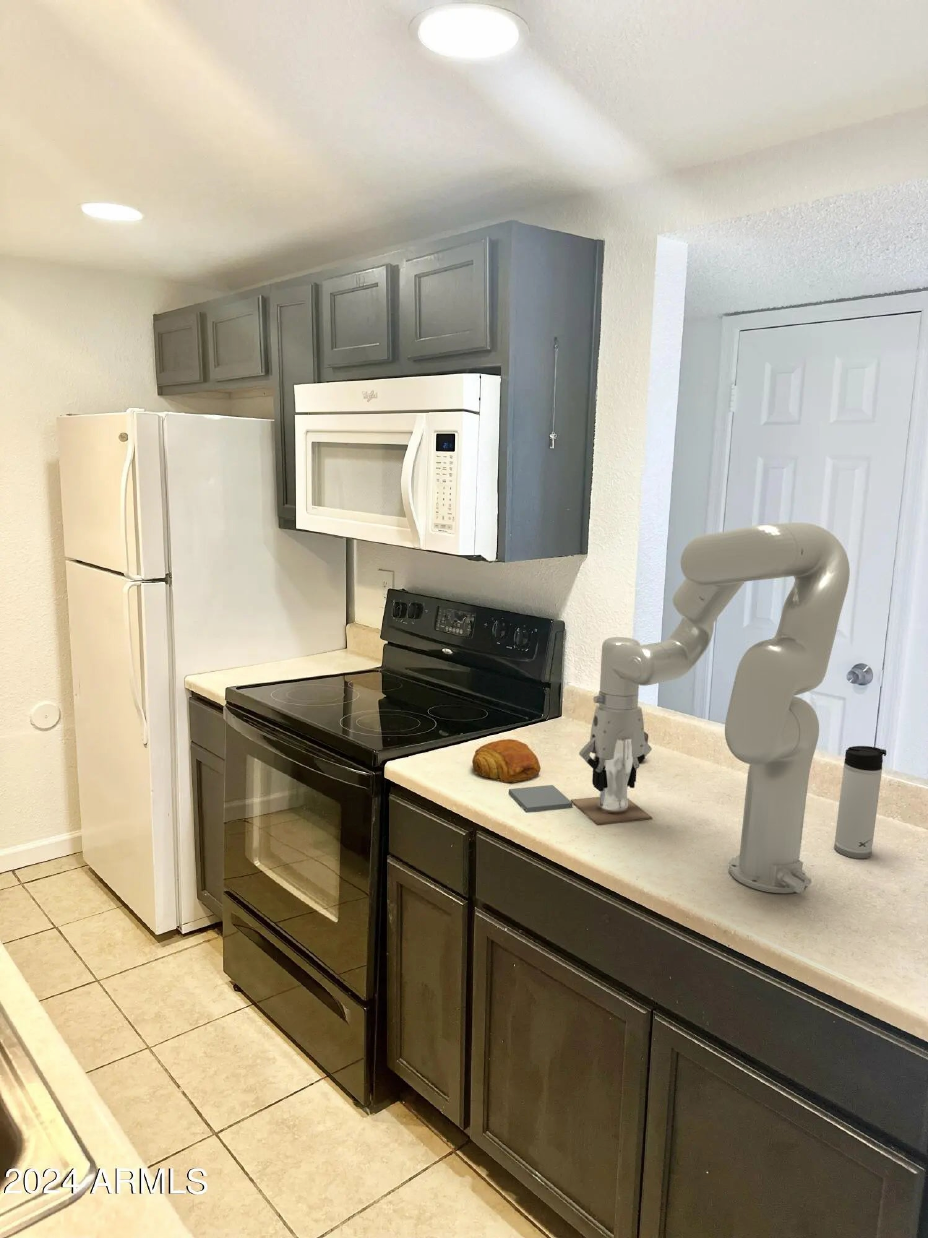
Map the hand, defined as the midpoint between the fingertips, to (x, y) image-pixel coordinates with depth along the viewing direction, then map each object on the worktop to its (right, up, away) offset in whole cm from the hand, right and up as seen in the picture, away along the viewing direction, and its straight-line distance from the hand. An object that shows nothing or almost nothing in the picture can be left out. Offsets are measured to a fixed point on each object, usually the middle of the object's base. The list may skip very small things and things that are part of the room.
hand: (613, 786), depth 168 cm
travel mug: (+41, -9, -14) cm, 45 cm away
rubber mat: (-14, -4, +5) cm, 16 cm away
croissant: (-20, -1, +21) cm, 29 cm away
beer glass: (0, -4, +1) cm, 4 cm away
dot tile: (0, -5, +1) cm, 5 cm away
